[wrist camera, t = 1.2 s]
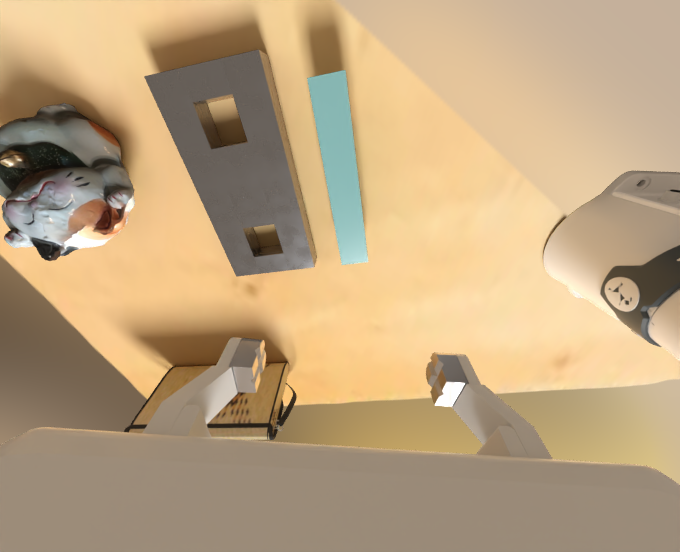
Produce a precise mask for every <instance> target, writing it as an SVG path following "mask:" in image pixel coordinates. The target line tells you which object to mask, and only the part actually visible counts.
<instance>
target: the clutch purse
mask: <svg viewBox="0 0 680 552" xmlns="http://www.w3.org/2000/svg"><path fill="white" fill-rule="evenodd" d="M213 366H216V365H213ZM210 367H211V366H186V367H176V366H174V367H172V368H171V369H170V370H169V371H168V372H167V373H166V374H165V376H164V377H163V378H162V380H161V381H160V383H159V384H158V386H157V387H156V388H155V390H154V391H153V393H152V394H151V396H150V397H149V398H148V400H147V401H146V403H145V404H144V405H143V407H142V408H141V410H140V411H139V413H138V414H137V415H136V417H135V419H134V420H133V422H132V423H131V425H129V426H127V428H126V427H125V429H124V432H128V433H143V431H144V429H145V428H146V426H147V425H148V423H149V422H150V420H151V418H152V417H153V415H154V414H155V412H156V411H157V409H158V407H159V406H160V404H161V403H162V402H163V401H164V400H165V399H167V398H168V397H169V396H171V395H172V394H174V393H175V392H176V391H178V390H179V389H181V388H182V387H183V386H185V385H186V384H188V383H189V382H190V381H192V380H193V379H195V378H196V377H197V376H199V375H200V374H202V373H203V372H204V371H206V370H207V369H209V368H210ZM288 371H289V363H288V362H286V363H266V364H265V367H264V370H263V372H262V373H261V374H260V383H259V386H258V389H257V392H256V393H245V392H237V394H236V395H235V396H234V397H233V398H232V399H231V401H230V402H229V403H228V404H227V405H226V406H225V407H224V408H223V409H222V410H221V411H220V412H219V413H218V414H217V415H216V416H215V417H214V418H213V419H212V420H211V421H210V422H209V423H208V424H207V427H208V430H209V432H210V435H211V437H212V438H222V439H238V440H253V439H254V440H255V439H256V440H259V439H260V440H261V439H270V440H273V439H274V438H275V437H276V434H277V431H278V430H279V429H278V428H279V425H280V426H282V430H283V424H284V422H285V420H286V419H287V417H288V416H289V414H290V412H291V410H292V408H293V406H294V403H295V401H296V393H295V391H294V390H293V389H292V388H291V387H290V386H289V385H288V384H287V383H286V381H287V376H288ZM286 384H287V385H288V386H289V387H290V388H291V389H292V391H293V397H292V399H291V401H290V403H289V405H288V407H287V409H286V411H285V412H284V414H283V416H282V417H281V415H282V410H283V400H282V397H283V393H284V389H285V385H286ZM282 430H279V431H282Z"/></svg>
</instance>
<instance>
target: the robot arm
mask: <svg viewBox="0 0 680 552" xmlns="http://www.w3.org/2000/svg"><path fill="white" fill-rule="evenodd" d="M639 181H640V182H639ZM638 182H639V183H638ZM637 183H638V184H637ZM543 262H544V267H545V269H546V271H547V273H548V274H549V275H550V276H551V277H552V278H554V279H555V280H557V281H559V282H561V283H563V284H565V285H566V287H567V289H568V290H569V292H570V293H571V294H572V295H574V296H575V297H577V298H585V299H587V300H588V301H590V302H591V303H593V304H594V305H596V306H597V307H599V308H600V309H602V310H603V311H605V312H606V313H608V314H609V315H611V316H613V317H614V318H616V319H617V320H620V321H622V322H623V323H624V324H625V325H627V326H628V327H629V328H630V329H631V331H633V332H634V333H635V334H637V335H638V336H640V337H642V338H644V339H645V340H646V341H648V342H649V343H651V344H653V345H656V346H659V347H663V348H664V349H665V350H667V351H668V352H669V353H670V354H672V355H673V356H674V357H675V358H677V359H678V360H679V361H680V173H676V172H653V171H629V172H626V173H624V174H622V175H621V176H619V177H618V178H617V179H616V180H615V181H614V182H613V183H611V185H609V186H608V187H607V188H606V189H605V190H604V191H603V192H602V193H601V194H600V195H598V196H597V197H595V198H594V199H592V200H591V201H589V202H587V203H586V204H584V205H582V206H581V207H579V208H578V209H576V210H575V211H574V212H572V213H571V214H570V215H569V216H568V217H567V218H565V219H564V220H563V221H562V222H561V224H560V225H559V226H558V227H557V228H556V229H555V231H554V232H553V234H552V235H551V237H550V238H549V240H548V242H547V244H546V247H545V250H544V256H543ZM264 347H265V342H264V340H257V339H247V338H236V337H232V338H231V339H230V340H229V341H228V343H227V345H226V347H225V349H224V351H223V353H222V355H221V357H220V359H219V361H218V363H217V365H216V366H211V367H210V368H209V369H207V370H206V371H204V372H203V373H202V374H200V375H199V376H197V377H196V378H195V379H193V380H192V381H190V382H189V383H188V384H186V385H185V386H183V387H182V388H181V389H179V390H178V391H176V392H175V393H174V394H172V395H171V396H169V397H168V398H167V399H165V400H164V401H163V402H162V403H161V404H160V406H159V407H158V409H157V411H156V412H155V414H154V415H153V417H152V418H151V420H150V422H149V423H148V425H147V426H146V428H145V429H144V431H143V433H128V432H112V431H97V430H80V429H66V428H52V427H40V428H35V429H32V430H29V431H27V432H25V433H23V434H20V435H18V436H16V437H14V438H12V439H10V440H9V441H7V442H5V443H3V444H1V445H0V552H680V485H679V484H677V483H676V482H675V481H673V480H672V479H670V478H669V477H667V476H666V475H664V474H663V473H661V472H659V471H658V470H656V469H654V468H651V467H648V466H644V465H635V464H619V463H603V462H602V463H601V462H586V461H570V460H555V459H552V457H551V455H550V454H549V452H548V450H547V449H546V447H545V445H544V443H543V442H542V440H541V438H540V437H539V435H538V433H537V432H536V430H535V428H534V427H533V426H532V425H531V424H530V423H528V422H527V421H526V420H525V419H524V418H522V417H521V416H520V415H519V414H518V413H516V412H515V411H514V410H513V409H512V408H511V407H510V406H508V405H507V404H506V403H505V402H504V401H502V400H501V399H500V398H499V397H498V396H497V395H495V394H494V393H493V392H492V391H491V390H490V389H488V388H487V387H486V386H485V385H481V383H480V381H479V379H478V377H477V375H476V373H475V371H474V369H473V367H472V365H471V363H470V361H469V359H468V357H467V356H466V355H462V354H450V353H433V354H432V356H431V360H432V361H431V362H430V363H428V365H427V368H426V378H427V382H428V384H429V385H430V386H431V387H432V390H431V395H432V398H433V402H434V405H439V406H448V407H453V409H454V410H455V412H456V413H457V414H458V415H459V416H460V418H461V419H462V420H463V421H464V422H465V424H466V425H467V426H468V427H469V428H470V430H471V431H472V432H473V433H474V434H475V436H476V437H477V438H478V439H479V440H480V442H481V443H482V444H483V446H482V447H481V449H480V450H479V451H478V452H477V454H476V455H474V454H460V453H443V452H427V451H412V450H396V449H381V448H365V447H349V446H333V445H316V444H300V443H285V442H270V441H269V442H268V441H254V440H238V439H222V438H212V437H211V435H210V432H209V430H208V427H207V424H208V423H209V422H210V421H211V420H212V419H213V418H214V417H215V416H216V415H217V414H218V413H219V412H220V411H221V410H222V409H223V408H224V407H225V406H226V405H227V404H228V403H229V402H230V401H231V399H232V398H233V397H234V396H235V395H236V394H237V392H245V393H256V392H257V389H258V386H259V383H260V374H261V373H262V372H263V370H264V367H265V362H266V351H265V350H264Z"/></svg>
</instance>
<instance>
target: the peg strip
mask: <svg viewBox="0 0 680 552" xmlns="http://www.w3.org/2000/svg"><path fill="white" fill-rule="evenodd" d="M307 79H308V85H309V90H310V95H311V101H312V106H313V112H314V117H315V122H316V128H317V133H318V139H319V144H320V149H321V155H322V160H323V166H324V171H325V176H326V182H327V187H328V193H329V198H330V203H331V209H332V214H333V220H334V225H335V230H336V236H337V241H338V247H339V252H340V257H341V263H342V265H346V264H354V263H362V262H368V255H367V246H366V238H365V229H364V221H363V212H362V204H361V196H360V187H359V179H358V170H357V162H356V153H355V145H354V137H353V128H352V120H351V111H350V103H349V94H348V86H347V77H346V71H345V70H343V71H338V72H333V73H329V74H324V75H319V76H315V77H310V78H307Z"/></svg>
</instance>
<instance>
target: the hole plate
mask: <svg viewBox="0 0 680 552" xmlns="http://www.w3.org/2000/svg"><path fill="white" fill-rule="evenodd" d="M144 77H145V79H146V81H147V84H148V86H149V88H150V90H151V92H152V94H153V97H154V99H155V101H156V103H157V105H158V107H159V110H160V112H161V114H162V116H163V118H164V120H165V123H166V125H167V127H168V129H169V131H170V133H171V136H172V138H173V140H174V142H175V144H176V146H177V149H178V151H179V153H180V155H181V157H182V159H183V162H184V164H185V166H186V168H187V170H188V172H189V175H190V177H191V179H192V181H193V183H194V185H195V188H196V190H197V192H198V194H199V196H200V198H201V201H202V203H203V205H204V207H205V209H206V211H207V214H208V216H209V218H210V220H211V222H212V224H213V227H214V229H215V231H216V233H217V235H218V237H219V240H220V242H221V244H222V246H223V248H224V250H225V253H226V255H227V257H228V259H229V261H230V263H231V266H232V268H233V270H234V272H235V274H236V276H244V275H253V274H261V273H269V272H278V271H286V270H295V269H303V268H312V267H315V263H316V258H317V256H316V251H315V247H314V243H313V239H312V235H311V231H310V227H309V223H308V218H307V214H306V210H305V206H304V202H303V198H302V194H301V190H300V186H299V181H298V177H297V173H296V169H295V165H294V161H293V157H292V153H291V148H290V144H289V140H288V136H287V132H286V128H285V124H284V120H283V116H282V111H281V107H280V103H279V99H278V95H277V91H276V87H275V83H274V78H273V74H272V70H271V66H270V62H269V58H268V55H267V54H265V53H264V52H262V51H260V50H255V51H250V52H246V53H242V54H238V55H233V56H229V57H225V58H221V59H216V60H212V61H208V62H204V63H199V64H195V65H191V66H187V67H182V68H178V69H174V70H170V71H165V72H161V73H157V74H153V75H148V76H144ZM233 97H234V101H235V104H236V107H237V110H238V113H239V116H240V119H241V122H242V125H243V129H244V132H245V135H246V138H247V141H246V142H241V143H236V144H230V145H225V146H222V143H221V140H220V138H219V135H218V132H217V130H216V127H215V124H214V122H213V119H212V116H211V114H210V111H209V108H208V105H207V103H209V102H214V101H219V100H223V99H228V98H233ZM270 224H274V225H275V228H276V231H277V234H278V237H279V241H280V244H281V245H275V246H268V247H260V245H259V242H258V240H257V237H256V234H255V232H254V229H253V227H256V226H263V225H270Z"/></svg>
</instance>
